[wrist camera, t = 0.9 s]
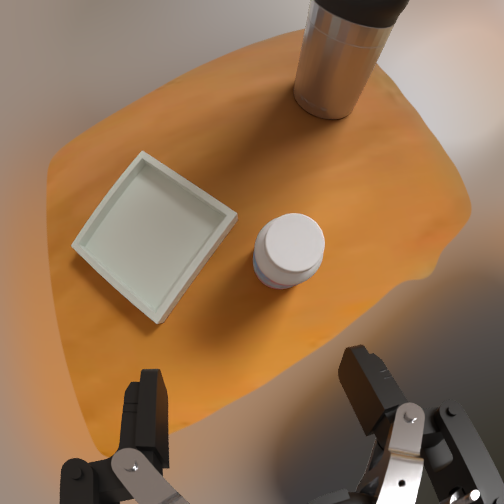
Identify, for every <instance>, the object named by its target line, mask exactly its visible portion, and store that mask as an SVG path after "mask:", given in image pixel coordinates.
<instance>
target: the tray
mask: <svg viewBox="0 0 504 504" xmlns="http://www.w3.org/2000/svg"><path fill="white" fill-rule="evenodd" d="M237 221H238V215H237V213H236V212H234V211H233V210H232V209H230V208H229V207H227V206H226V205H224V204H223V203H221V202H220V201H218V200H217V199H215V198H214V197H212V196H211V195H209V194H208V193H206V192H205V191H203V190H202V189H200V188H199V187H197V186H196V185H194V184H193V183H191V182H190V181H188V180H187V179H185V178H184V177H182V176H181V175H179V174H178V173H176V172H175V171H173V170H172V169H170V168H168V167H167V166H165V165H164V164H162V163H161V162H159V161H158V160H156V159H155V158H153V157H152V156H150V155H149V154H147V153H145V152H144V151H141V152H140V153H139V155H138V156H137V157H136V158H135V159H134V161H133V162H132V163H131V164H130V165H129V167H128V168H127V169H126V170H125V171H124V173H123V174H122V175H121V176H120V178H119V179H118V180H117V181H116V183H115V184H114V185H113V187H112V188H111V189H110V191H109V192H108V193H107V195H106V196H105V197H104V199H103V200H102V201H101V203H100V204H99V205H98V207H97V208H96V209H95V211H94V212H93V214H92V215H91V217H90V218H89V219H88V221H87V222H86V224H85V225H84V227H83V228H82V230H81V231H80V233H79V234H78V236H77V237H76V239H75V240H74V242H73V243H72V245H71V246H72V247H73V248H74V249H75V250H76V251H77V252H78V253H79V254H80V255H81V256H82V257H83V258H84V259H85V260H86V261H87V262H88V263H89V264H90V265H91V266H92V267H93V268H94V269H95V270H96V271H97V272H98V273H99V274H100V275H101V276H102V277H103V278H104V279H106V280H107V281H108V282H109V283H110V284H111V285H112V286H113V287H114V288H115V289H116V290H118V291H119V292H120V293H121V294H122V295H123V296H124V297H125V298H127V299H128V300H129V301H130V302H131V303H132V304H134V305H135V306H136V307H137V308H138V309H139V310H141V311H142V312H143V313H144V314H145V315H147V316H148V317H149V318H150V319H151V320H153V321H154V322H155V323H156V324H160V323H164V321H165V320H166V318H167V317H168V316H169V314H170V313H171V311H172V310H173V309H174V307H175V306H176V304H177V303H178V301H179V300H180V299H181V297H182V296H183V294H184V293H185V292H186V290H187V289H188V287H189V286H190V285H191V283H192V282H193V281H194V279H195V278H196V276H197V275H198V274H199V272H200V271H201V269H202V268H203V267H204V265H205V264H206V263H207V261H208V260H209V259H210V257H211V256H212V254H213V253H214V252H215V250H216V249H217V248H218V246H219V245H220V244H221V242H222V241H223V240H224V238H225V237H226V235H227V234H228V233H229V231H230V230H231V229H232V227H233V226H234V225H235V223H236V222H237Z"/></svg>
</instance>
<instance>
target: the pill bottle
mask: <svg viewBox="0 0 504 504" xmlns="http://www.w3.org/2000/svg"><path fill="white" fill-rule="evenodd" d="M324 246H325V241H324V236H323V232H322V230H321V228H320V227H319V225H318V224H317V223H316V222H315V221H314V220H313V219H311V218H310V217H308V216H305V215H302V214H297V213H291V214H286V215H283V216H281V217H278V218H275V219H273V220H271V221H270V222H268V223H267V224H266V225H265V226H264V227H263V228H262V229H261V231H260V232H259V234H258V236H257V239H256V241H255V247H254V254H253V267H254V271H255V274H256V276H257V277H258V279H259V280H260V281H261V282H262V283H263V284H265V285H266V286H268V287H270V288H274V289H286V288H290V287H292V286H295V285H297V284H300V283H302V282H304V281H306V280H308V279H309V278H310V277H311V276H313V275H314V273H315V272H316V271H317V270H318V268H319V266H320V264H321V262H322V258H323V252H324Z"/></svg>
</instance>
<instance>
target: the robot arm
mask: <svg viewBox="0 0 504 504" xmlns="http://www.w3.org/2000/svg"><path fill="white" fill-rule="evenodd" d="M408 2H409V0H311V1H310V6H309V11H308V17H307V22H306V27H305V32H304V38H303V43H302V48H301V53H300V58H299V63H298V68H297V73H296V78H295V84H294V89H293V92H294V97H295V99H296V101H297V102H298V104H299V105H300V106H301V107H302V108H303V109H304V110H306V111H307V112H309V113H310V114H312V115H314V116H317V117H320V118H324V119H340V118H343V117H346V116H347V115H349V114H350V113H351V112H352V110H353V108H354V106H355V104H356V103H357V101H358V99H359V97H360V95H361V93H362V91H363V89H364V87H365V85H366V83H367V81H368V79H369V77H370V75H371V72H372V70H373V68H374V66H375V64H376V62H377V60H378V58H379V56H380V54H381V52H382V50H383V48H384V46H385V43H386V41H387V39H388V37H389V35H390V33H391V31H392V28H393V26H394V24H395V23H396V20H397V18H398V16H399V15H400V13H401V12H402V11H403V10H404V9H405V7H406V5H407V4H408ZM338 376H339V380H340V383H341V384H342V387H343V389H344V391H345V393H346V395H347V397H348V399H349V401H350V403H351V405H352V407H353V409H354V411H355V414H356V416H357V418H358V420H359V422H360V424H361V426H362V428H363V431H364V433H365V435H366V436H369V435H372V434H375V436H376V439H375V442H374V445H373V449H372V452H371V455H370V458H369V462H368V465H367V468H366V471H365V473H364V475H363V477H362V479H361V480H360V482H359V484H358V486H357V489H356V491H355V492H347V489H342V490H339V491H336V492H333V493H329V494H327V495H323V496H321V497H319V498H317V499H315V500H313V501H311V502H309V503H307V504H415V500H416V496H417V492H418V488H419V483H420V479H421V474H422V469H423V464H424V466H425V469H426V471H427V473H428V476H429V478H430V480H431V482H432V485H433V487H434V489H435V492H436V494H437V497H438V499H439V502H440V503H439V504H504V484H503V482H502V479H501V477H500V475H499V473H498V471H497V469H496V467H495V465H494V463H493V461H492V459H491V458H490V455H489V453H488V451H487V450H486V448H485V446H484V444H483V442H482V440H481V439H480V437H479V435H478V433H477V431H476V429H475V428H474V426H473V424H472V423H471V421H470V419H469V417H468V416H467V414H466V412H465V411H464V409H463V407H462V406H461V405H460V404H459V403H458V402H457V401H454V400H446V401H444V402H443V403H442V404H441V405H440V406H439V407H437V408H428V409H427V408H426V409H422V408H421V407H419V406H418V405H416V404H414V403H409V402H408V401H407V399H406V398H405V396H404V394H403V393H402V391H401V389H400V388H399V386H398V385H397V383H396V381H395V380H394V378H393V377H392V375H391V373H390V372H389V370H387V367H386V365H385V364H384V362H383V361H382V360H381V359H380V358H379V357H378V356H376V355H375V354H374V353H373V354H369V353H368V351H367V350H366V348H365V346H363V345H358V346H353V347H348V348H346V349H345V351H344V354H343V357H342V360H341V363H340V366H339V369H338ZM444 439H445V440H444ZM445 441H446V442H445ZM446 443H447V444H446ZM168 445H169V442H168V395H167V390H166V387H165V384H164V381H163V377H162V374H161V371H160V369H142V371H141V376H140V382H131V383H130V384H129V386H128V388H127V389H126V391H125V396H124V405H123V413H122V422H121V432H120V443H119V448H118V450H117V451H116V453H115V454H114V455H113V456H111V457H110V458H108V459H105V460H100V461H95V462H90V463H87V462H86V461H84V460H82V459H79V458H73V459H70V460H68V461H67V462H65V463H64V465H63V466H62V469H61V480H60V504H120V501H125V500H130V499H135V500H136V501H137V502H138V503H139V504H190V503H189V502H188V501H186V500H185V499H184V498H183V497H182V496H181V495H180V494H179V493H178V492H177V491H176V490H175V489H174V488H173V487H172V486H171V485H170V484H169V483H168V482H167V481H166V480H165V479H164V478H163V468H169V447H168ZM447 445H448V446H447ZM448 447H449V448H448ZM449 449H450V450H449ZM450 451H451V452H450ZM451 453H452V454H451Z"/></svg>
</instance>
